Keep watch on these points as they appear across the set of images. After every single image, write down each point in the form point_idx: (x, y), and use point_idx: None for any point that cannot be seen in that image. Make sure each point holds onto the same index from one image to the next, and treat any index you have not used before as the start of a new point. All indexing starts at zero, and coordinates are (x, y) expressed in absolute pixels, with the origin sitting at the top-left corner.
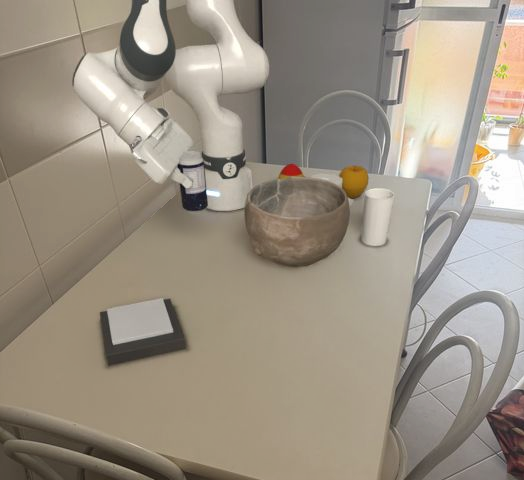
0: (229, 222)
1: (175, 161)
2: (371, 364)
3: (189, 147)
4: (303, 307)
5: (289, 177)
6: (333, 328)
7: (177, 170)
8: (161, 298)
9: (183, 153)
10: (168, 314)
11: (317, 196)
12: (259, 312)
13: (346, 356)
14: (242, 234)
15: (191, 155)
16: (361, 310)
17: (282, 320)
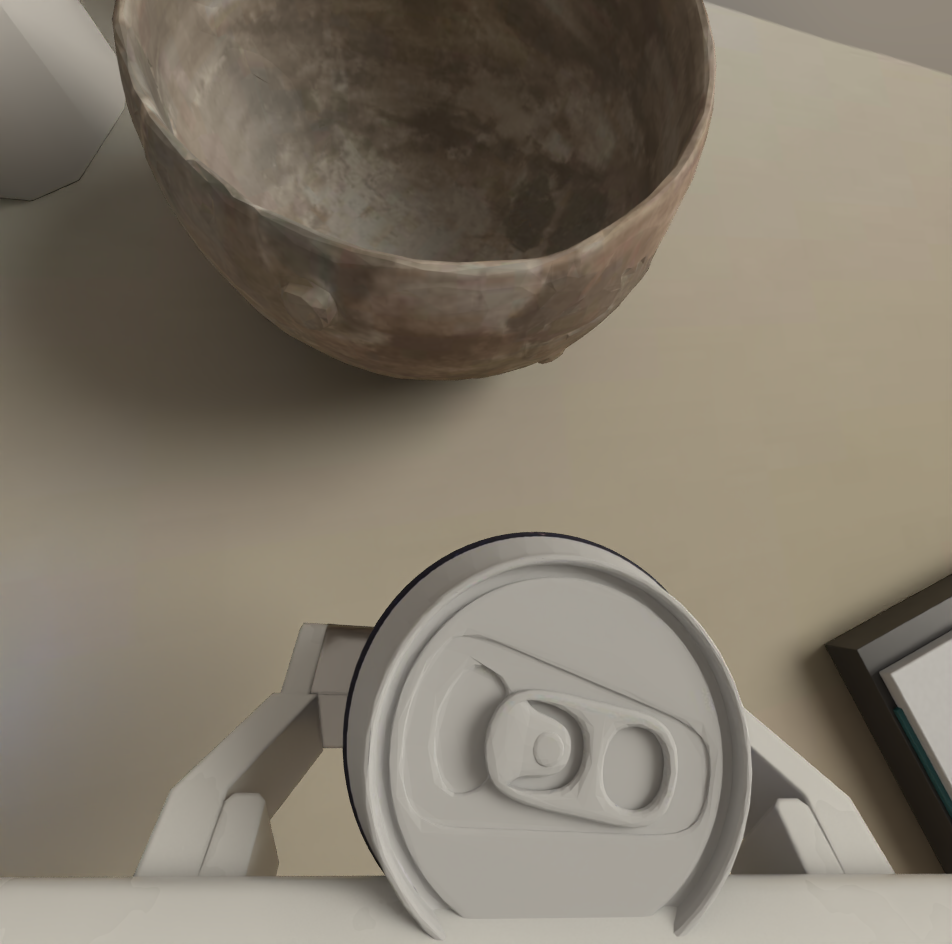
0: (118, 538)
1: (888, 935)
2: (930, 106)
3: (41, 895)
4: (742, 238)
5: (126, 35)
6: (820, 170)
7: (848, 834)
8: (896, 677)
9: (441, 913)
10: (944, 629)
11: (205, 11)
12: (790, 358)
13: (918, 153)
14: (252, 462)
15: (548, 725)
16: (729, 97)
17: (814, 294)
